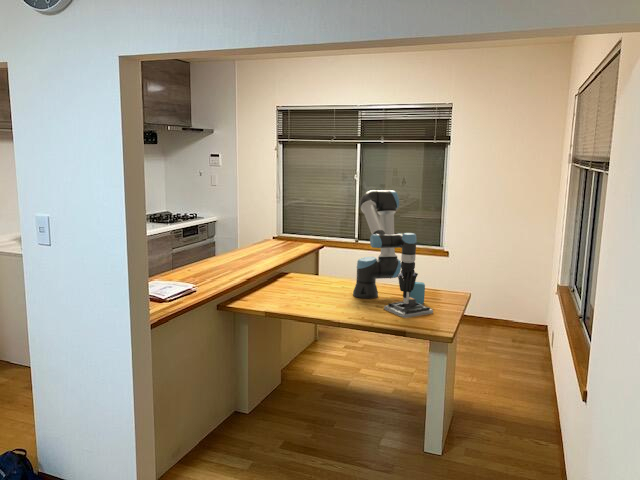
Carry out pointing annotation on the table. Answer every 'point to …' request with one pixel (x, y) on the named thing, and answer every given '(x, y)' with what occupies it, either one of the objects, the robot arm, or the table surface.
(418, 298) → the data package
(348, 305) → the table surface
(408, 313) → the breaker panel
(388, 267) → the robot arm
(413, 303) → the breaker toggle
